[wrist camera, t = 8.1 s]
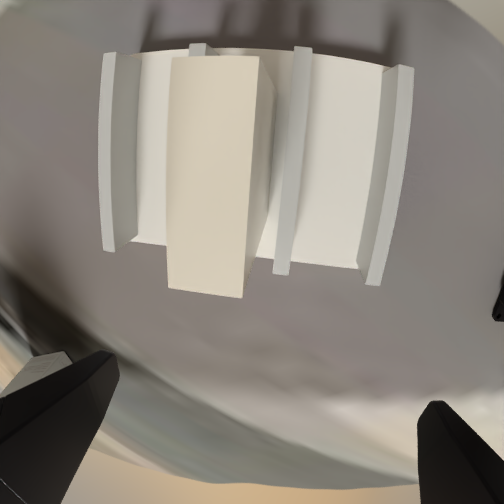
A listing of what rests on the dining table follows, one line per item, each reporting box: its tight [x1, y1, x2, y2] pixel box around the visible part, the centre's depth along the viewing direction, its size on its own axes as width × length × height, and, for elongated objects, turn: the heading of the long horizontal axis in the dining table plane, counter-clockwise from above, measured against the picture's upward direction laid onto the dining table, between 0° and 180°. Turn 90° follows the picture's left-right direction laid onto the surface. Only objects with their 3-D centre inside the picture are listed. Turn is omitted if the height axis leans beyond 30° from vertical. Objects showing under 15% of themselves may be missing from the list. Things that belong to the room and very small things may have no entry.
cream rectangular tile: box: [166, 56, 278, 298], centre depth 13 cm, size 2×7×9 cm, turn 177°
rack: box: [98, 43, 414, 286], centre depth 16 cm, size 15×12×4 cm
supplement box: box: [0, 351, 72, 398], centre depth 23 cm, size 7×7×13 cm
